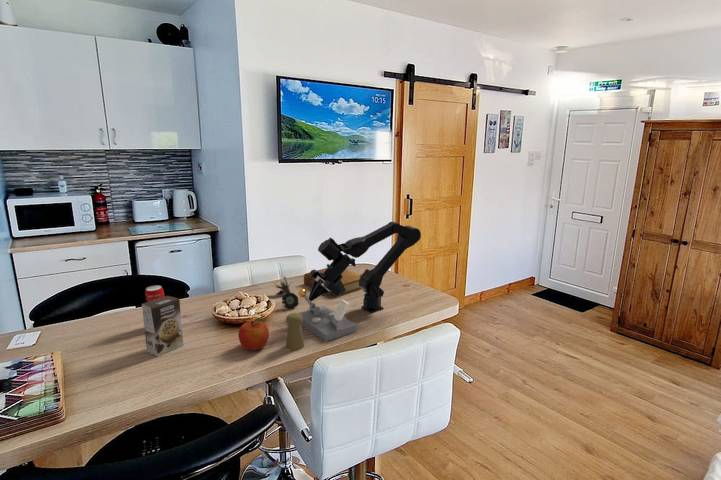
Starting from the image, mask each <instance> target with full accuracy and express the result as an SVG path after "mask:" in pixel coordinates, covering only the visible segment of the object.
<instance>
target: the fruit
mask: <svg viewBox="0 0 721 480" xmlns="http://www.w3.org/2000/svg"><path fill="white" fill-rule="evenodd" d="M237 336H238V341H239V342H240V345H241V346H242V347H243V348H244V349H246V350H249V351H258V350H260V349H262V348H265V346H266V344H268V340H269V337H270V332H269V328H268V327H267V325H266V324H265V320H264V319H263V318H261V317H257V318H255V319H254V320H252V319H251V320H250V321H248V322H245V323H243V324H242V325H241V326H240V327H239V330H238V335H237Z"/></svg>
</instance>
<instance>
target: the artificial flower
mask: <svg viewBox="0 0 721 480" xmlns="http://www.w3.org/2000/svg"><path fill="white" fill-rule="evenodd" d="M283 279H284V281H280V285H278V284H277V282H273V286H275V287H276V288H277V289H280V290H278V291H277V292H276V293H277V294H279V293H280V292H281V291H283V293H285V294H284V295H283V296H282V297H281V302H282V307H284V309H287V310H292V309H294V308H296V307H298V306H299V304H300V303H299V297H298V295H297V294H295V293H293V292H291V290H290V286H291V285H292V284H293V282H290V283H289V284H288V280H287V277H286V276H283Z"/></svg>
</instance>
